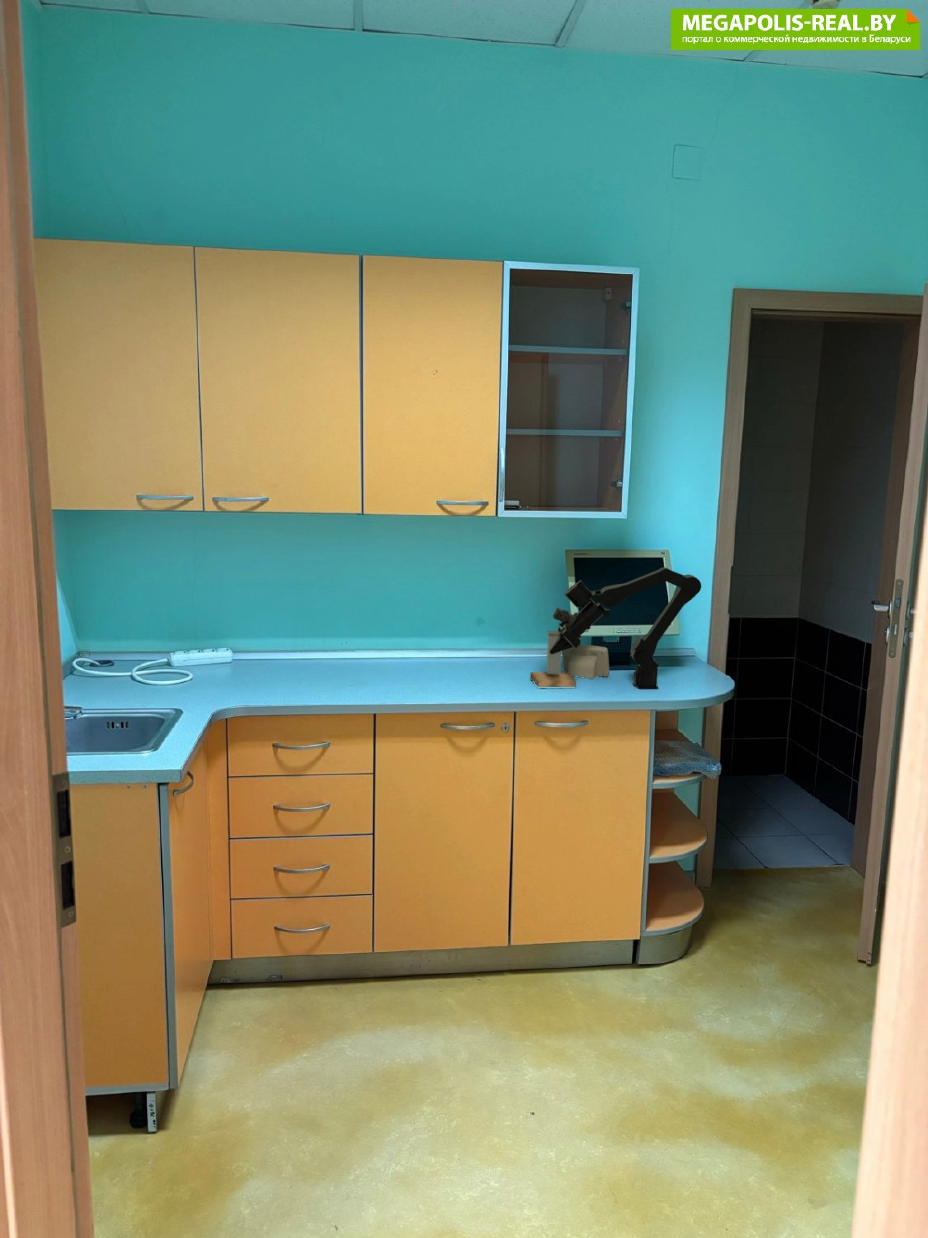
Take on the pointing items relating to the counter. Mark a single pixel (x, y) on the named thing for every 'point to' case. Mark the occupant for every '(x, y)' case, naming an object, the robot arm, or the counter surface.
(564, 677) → the walnut board
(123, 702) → the counter surface
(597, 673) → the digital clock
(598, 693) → the counter surface
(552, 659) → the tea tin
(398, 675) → the counter surface
